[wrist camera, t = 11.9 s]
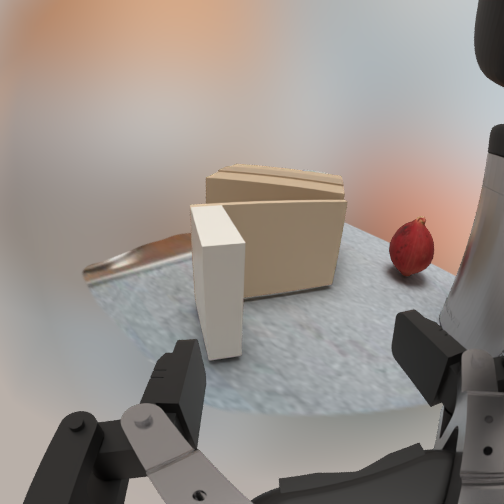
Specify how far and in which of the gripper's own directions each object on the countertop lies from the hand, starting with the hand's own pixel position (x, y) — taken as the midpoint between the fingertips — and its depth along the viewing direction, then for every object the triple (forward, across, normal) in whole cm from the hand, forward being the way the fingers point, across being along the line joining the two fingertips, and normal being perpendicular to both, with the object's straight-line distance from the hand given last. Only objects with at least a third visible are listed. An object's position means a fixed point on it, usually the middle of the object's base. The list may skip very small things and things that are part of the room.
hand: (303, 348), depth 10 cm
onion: (+21, -17, +7) cm, 28 cm away
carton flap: (+13, -1, +5) cm, 14 cm away
